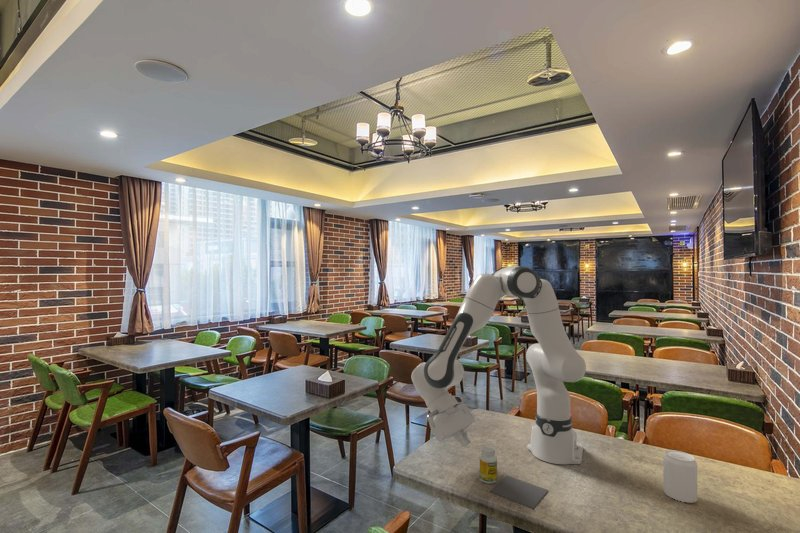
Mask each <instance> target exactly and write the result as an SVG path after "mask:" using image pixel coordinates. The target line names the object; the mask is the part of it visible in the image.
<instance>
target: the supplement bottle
mask: <svg viewBox="0 0 800 533" xmlns="http://www.w3.org/2000/svg"><path fill="white" fill-rule="evenodd" d="M479 480H480V481H481V482H482V483H485V484H488V485H489V484H490V485H491V484H495V483H496V482H497V480H498V457H497V456H496V449H495V447H493V446H490V445H485V446H482V447H481V453H480V455H479Z"/></svg>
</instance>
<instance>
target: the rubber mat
mask: <svg viewBox="0 0 800 533" xmlns="http://www.w3.org/2000/svg"><path fill="white" fill-rule="evenodd" d="M548 492H549V489H546V488H543V487H541V486H538V485H535V484H532V483H529V482H527V481H524V480H521V479H519V478H516V477H513V476H510V475H509V474H506V475H505V476H504V477H503V478H502V479H501V480H499V482H497V483H496V484H495V485H493V487H492V488H491V489H490V490H489V493H492V494H495V495H497V496H500V497H502V498H505V499H507V500H510V501H512V502H514V503H517V504H519V505H522V506H525V507H527V508H530V509H531V510H534V509H535V508H536V506H537V505H538V504H539V503H540V502H541V501H542V499H543V498H544V497H545V496H546V494H547V493H548Z"/></svg>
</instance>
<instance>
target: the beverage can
mask: <svg viewBox="0 0 800 533" xmlns="http://www.w3.org/2000/svg"><path fill="white" fill-rule="evenodd" d="M662 458H663V460H662V466H663V468H662V469H663V470H662V476H663V477H662V479H663V480H662V491H663V493H664V494H665V495H667V496H668V497H669V498H670V499H672V498H673V500H674V499H675V500H674V501H677V500H678V502H680V501H681V502H680V503H684V502H687V504H689V503H690V504H692V503H696V502H697V501H698V463H697V461H696V458H695V456H693V455H691V454H690V453H687V452H684V451H681V450H675V449H668V450H665V452H664V454H663V456H662Z"/></svg>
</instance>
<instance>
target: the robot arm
mask: <svg viewBox="0 0 800 533" xmlns="http://www.w3.org/2000/svg"><path fill="white" fill-rule="evenodd" d="M504 296H507V297H510V298H520V299H522V300H523V303H524V305H525V309H526V314H527V319H528V322H529V328H530V333H531V335H533V337H534V338H535V339H536V341H537V343H536V342H535V343H533V344H531V345H530V346H529V347H528V348H527V350H526V353H525V358H526V362H527V364H528V365H529V367H530V369H531V372H532V375H533V380H534V383H535V387H536V407H537V408H536V412H535V417H534V418H535V424H533V426H532V427H531V433H530V434H531V435H530V443H528V444H527V445H526V449H527V450H528V451H530V452H531V453H532V455H533V456H534V457H535V458H537V459H538V460H541V461H544V462H546V463H549V464H555V465H571V464H572V465H573V464H574V465H581V464H582V462H583V454H584V446H583V445H582V444H580V443H578V439H577V438H578V437H577V432H576V431H575V430H574V428H573V422H572V420H573V414H571V396H570V393H569V391H568V390H567V387H566V386H565V384H564V383H565V382H567V383H576V382H579V381H581V380H582V379H583V378H584V377H585V376H584V375H585V374H586V371H587V365H586V362H585V359H584V358H583V357H582V356H581V355H580V354H579V353H578V352H577V350H576V348H575V347H574V346H573V344H572V342H571V340H570V339H569V337H568V335H567V332H566V330H565V326H564V323H563V319H562V316H561V315H562V314H561V311H560V308H559V302H558V299H557V296H556V292H555V291H554V288H553V286H552V284H551V283H550V282H549V281H548V280H547V279H544V278H540V277H539V275H538V274H537V273H536V272H535V271H534V269H532V268H530V267H528V266H524V265H522V266H519V265H510V266H503V267H500V268H499V269H496V270H495V271H494V272H493V273H491V274H490V273H481V274H478V276H476V278H475V279H474V281H473V282H472V283H471V285H470V286H469V288H468V290H467V292H466V294H465V296H464V299H463V301H462V302H461V305H460V306H459V309H458V312H457V313H456V316H455V318H454V319H453V321H452V323H451V325H450V327H449V328H448V330H447V332H446V334H445V336H444V338H443V340H442V341H441V343H440V345H439V347H438V349H437V350H436V351H435V353H434V354H433V355H432V356H431V357H429V359H428V360H427V361H426V362H424V361H423V362H421V363H419V364H417V366H416V367H415V368H414V369H413V370H412V372H411V375H410V376H411V377H410V378H411V382H412V384H413V386H414V388H415V390H416V392H417V393H418V395H419V396H420V398H421V399H423V400H424V402H425V404H426V405H425V406H426V407H427V409H428V411H429V413H427V421H428V423H429V427H430V429H431V432H432V434H433V436H434V437H435V439H436V441H437V442H439V443H443V442H445V441H447V440H449V439H450V438H452V437H453V438H454V440H456V441H457V442H458V443H460V444H461V446H462V447H464V448H465V447H467V446H468V445H469V444H471V442H472V441H471V440H470V438H469V434H468V431H467V429H468V428H470V427H471V426H472V425H474V424H475V423H476V419H475V416H474V415H473V413H472V412H471V410H470V409H469V407H468V406H467V404H465V403H464V399H463V398H462V397H461V396H460V395H459V396H457V395H452V394H450V393H449V391H448V389H450V388H452V387H455V386H457V385H458V384H460V383H461V381H462V380H463V379H464V376H465V369H464V365H463V364H462V362H461V361H460V360H458V359H457V357H458V355H459V354H460V351H461V349H462V348H463V345H464V343H465V342H466V341H467V339H468V337H469V336H470V335H472V334H473V333H474V332H476V331H478V330H481V329H483V328H485V327H486V325H487V324H488V322H489V321H490V319H491V318H492V316H493V314H494V311H495V309H496V307H497V305H498V302H499V301H500V299H501V298H502V297H504Z"/></svg>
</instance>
